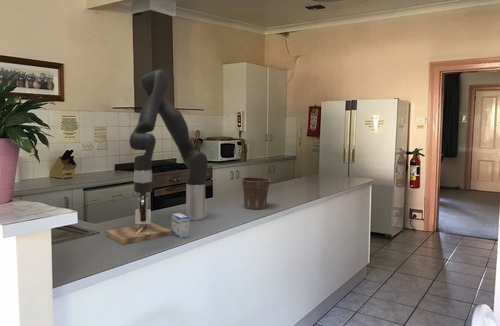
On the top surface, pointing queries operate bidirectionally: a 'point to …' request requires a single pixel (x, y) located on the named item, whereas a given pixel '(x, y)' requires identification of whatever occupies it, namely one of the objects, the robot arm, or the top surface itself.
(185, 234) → the medicine box
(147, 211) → the toy mallet
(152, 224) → the brown flat wooden board
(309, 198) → the top surface
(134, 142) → the robot arm
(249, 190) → the plant pot
